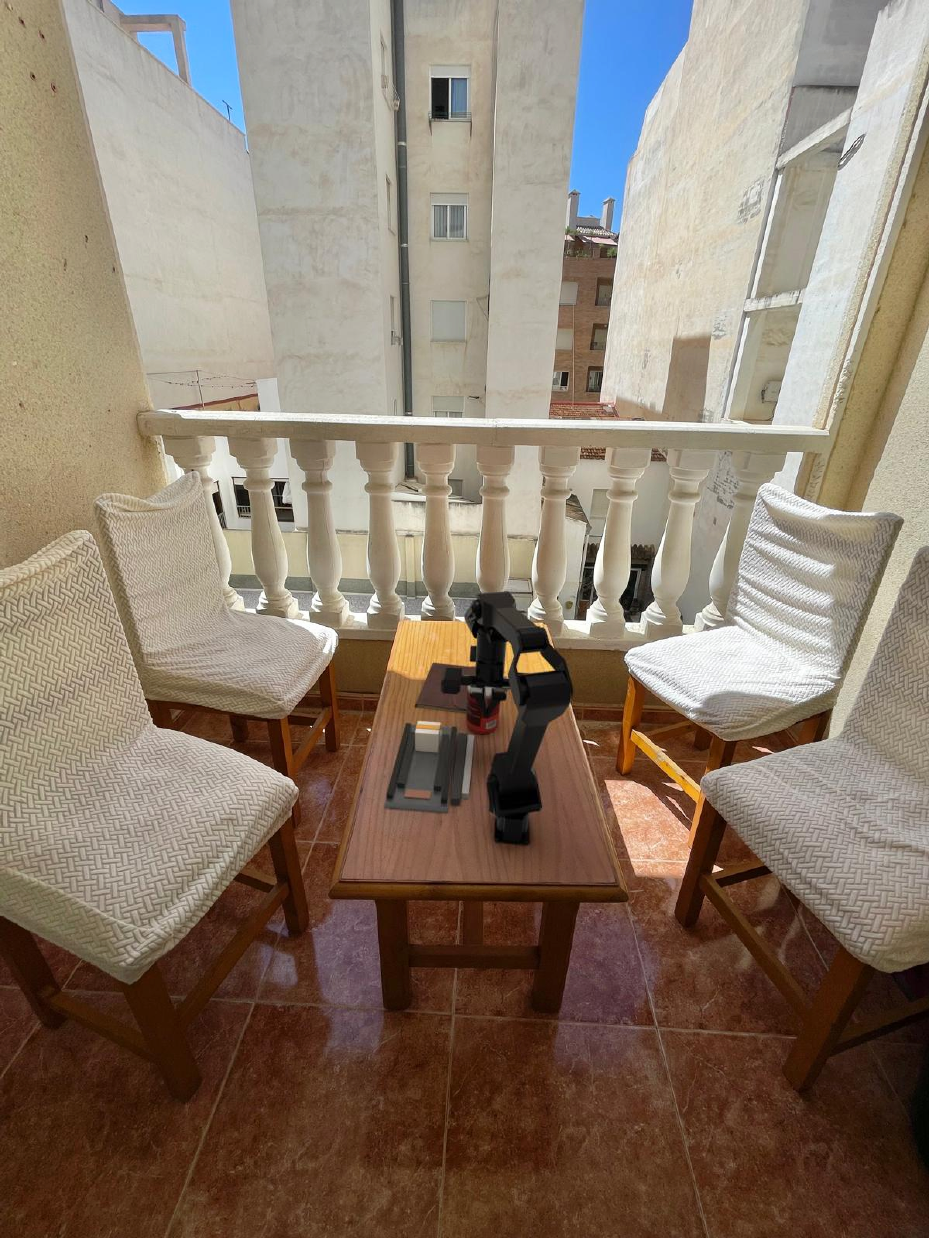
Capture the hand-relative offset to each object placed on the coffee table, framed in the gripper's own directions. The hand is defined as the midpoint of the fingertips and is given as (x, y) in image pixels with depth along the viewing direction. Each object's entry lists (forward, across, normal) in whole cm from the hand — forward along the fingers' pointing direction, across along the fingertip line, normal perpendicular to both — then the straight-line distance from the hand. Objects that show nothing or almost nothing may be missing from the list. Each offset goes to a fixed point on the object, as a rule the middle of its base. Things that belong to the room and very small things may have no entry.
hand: (486, 717), depth 114 cm
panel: (+12, +12, +3) cm, 18 cm away
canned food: (+12, +1, -13) cm, 18 cm away
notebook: (+13, +10, -27) cm, 31 cm away
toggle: (+10, +13, -2) cm, 16 cm away
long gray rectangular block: (+12, +4, +3) cm, 13 cm away
